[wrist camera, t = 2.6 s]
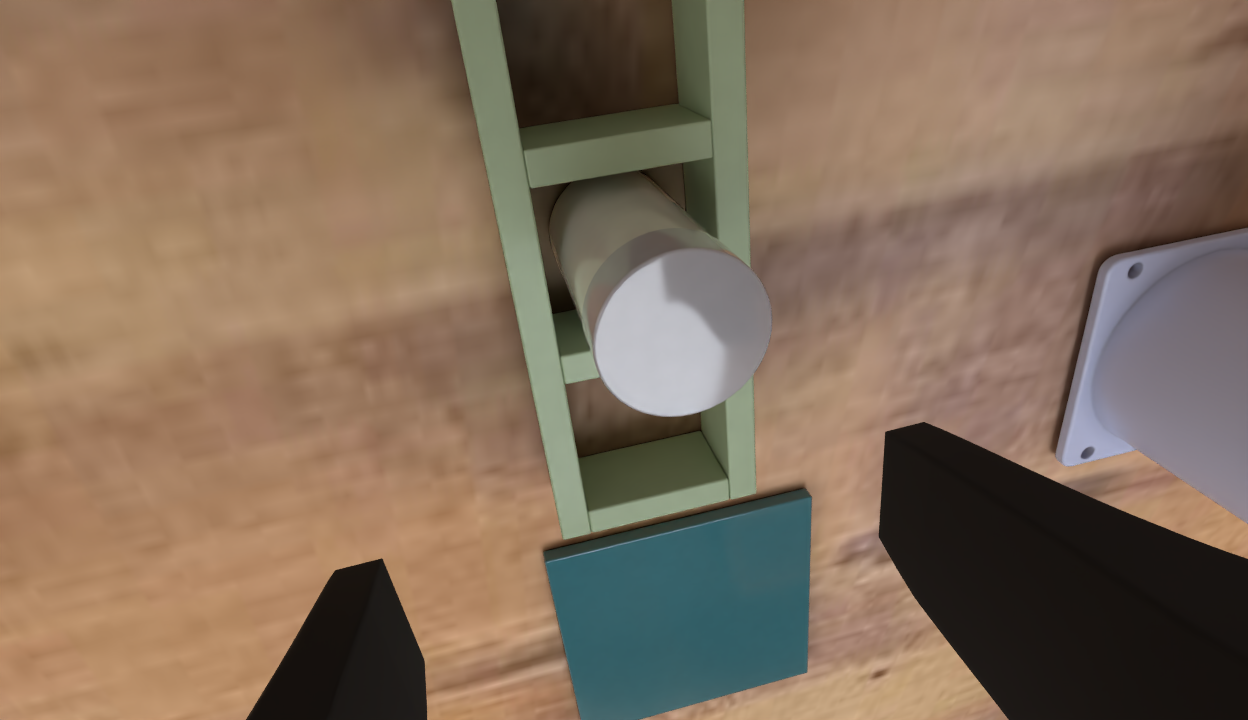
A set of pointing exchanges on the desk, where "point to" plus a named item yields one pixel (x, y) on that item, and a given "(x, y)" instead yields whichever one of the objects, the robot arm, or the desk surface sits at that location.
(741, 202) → the spice rack
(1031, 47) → the desk surface
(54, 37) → the desk surface
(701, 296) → the shaker
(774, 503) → the coaster
